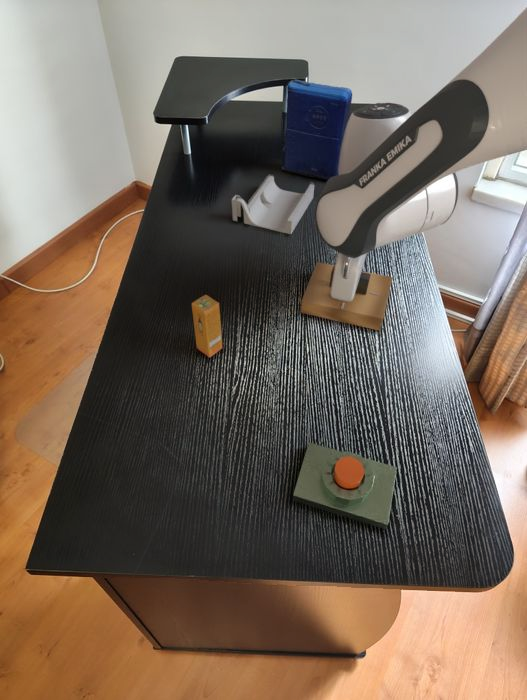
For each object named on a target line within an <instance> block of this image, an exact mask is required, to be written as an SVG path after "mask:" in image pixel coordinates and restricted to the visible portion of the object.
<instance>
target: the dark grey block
mask: <svg viewBox="0 0 527 700" xmlns="http://www.w3.org/2000/svg"><path fill="white" fill-rule="evenodd" d="M334 268H335V266H333V269H332V272H331V278H330V285H329V287H331V285H332V279H333V274H334ZM364 272H365V271H364ZM364 272H361V275H360V279H359V282H358V286H357V289H356V292H355V293H359V294H364V295H366V293H367V289H368V284H369V280H370V276H371V274H368V273H364Z"/></svg>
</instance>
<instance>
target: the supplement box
mask: <svg viewBox="0 0 527 700" xmlns="http://www.w3.org/2000/svg"><path fill="white" fill-rule="evenodd" d="M220 309H221V308H220V302H219V301H216V300H215V299H213V298H212V297H211V296H209V295H207V294H204V295H203V296H201V297H199V298H198V299H196V300H194V301H192V302H191V311H192V318H193V326H194V327H193V329H194V336H195V346H196V349H197V350H198V351H200V352H201V353H203V354H204V355H206V357H208V358H211V357H213V356H214V355H215V354H217V353H218V352H219V351H220V350H222V349H223V348H224V347H223V336H222V323H221V312H220Z"/></svg>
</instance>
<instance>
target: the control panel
mask: <svg viewBox="0 0 527 700" xmlns="http://www.w3.org/2000/svg"><path fill="white" fill-rule="evenodd" d="M333 266H335V264H330V263H324V262H321V261H316V264H315V266H314V268H313V271H312V273H311V275H310V276H311V277H310V278H309V281H308V283H307V286H306V288H305V291H304V294H303V296H302V298H301V304H300V313H301V314H304V315H309V316H314V317H318V318H323V319H327V320H331V321H334V322H335V321H336V322H340V323H345V324H349V325H353V326H358V327H362V328H366V329H371V330H375V331H381V328H382V324H383V321H384V317H385V314H386V308H387V304H388V300H389V295H390V291H391V287H392V282H393V277H392V276H389V275H383V274H379V273H373V272H369V271H363V270H362V272H364V273H368V274H371V276H370V280H369V284H368V289H367V293H366V295H364V294H359V293H355V296H354V298H353V300H352V301H351V302H348V301H342V300H338V299H334V298H332V297H331V294H330V292H331V287H329V285H330V278H331V272H332V269H333Z"/></svg>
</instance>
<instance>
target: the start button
mask: <svg viewBox="0 0 527 700" xmlns="http://www.w3.org/2000/svg"><path fill="white" fill-rule="evenodd" d="M333 475H334V479H335V481H336V483H337V484H338V485H339V486H340V487H342V488H345V489H354V488H356V487H358V486H359V485H360V483H361V481H362V478H363V475H364V468H363V465H362V464H361V463H360V461H358V460H357V459H355V458H353V457H343V458H341V459H339V460H338V461H337V463H336V465H335V469H334V474H333Z"/></svg>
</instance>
